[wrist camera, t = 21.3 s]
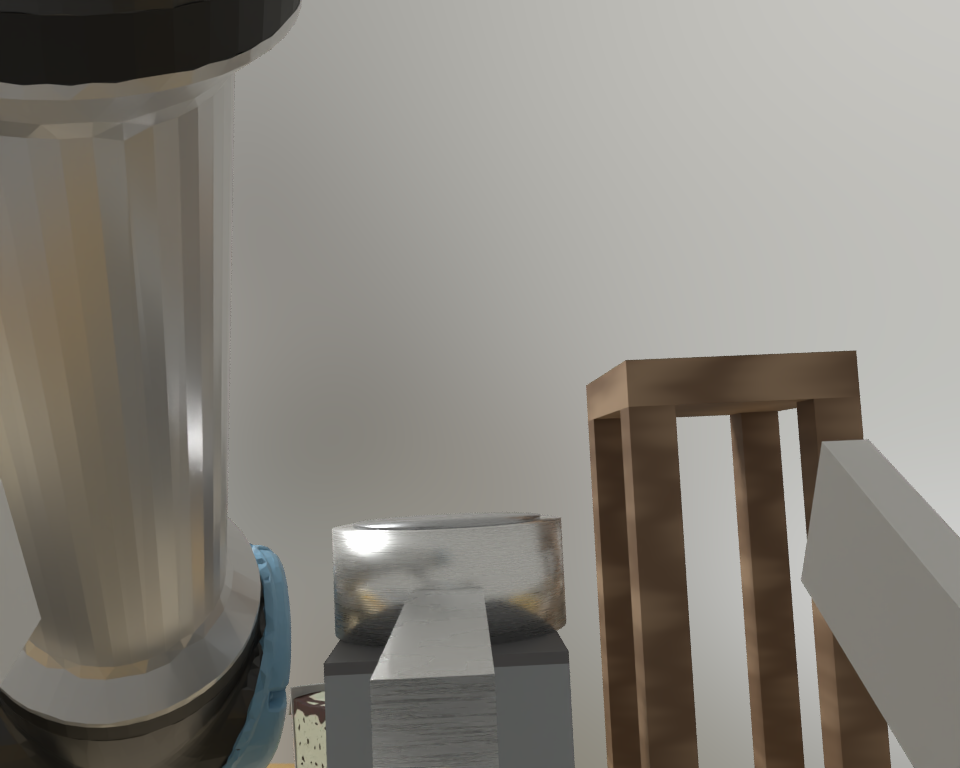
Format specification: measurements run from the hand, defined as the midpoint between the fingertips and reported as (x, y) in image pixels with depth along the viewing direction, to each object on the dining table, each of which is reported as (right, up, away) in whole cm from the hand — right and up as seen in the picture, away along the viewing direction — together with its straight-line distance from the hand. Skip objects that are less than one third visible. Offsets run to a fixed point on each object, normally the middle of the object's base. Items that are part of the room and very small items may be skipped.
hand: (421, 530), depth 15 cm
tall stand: (+13, -27, +27) cm, 40 cm away
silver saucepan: (0, -6, +14) cm, 15 cm away
